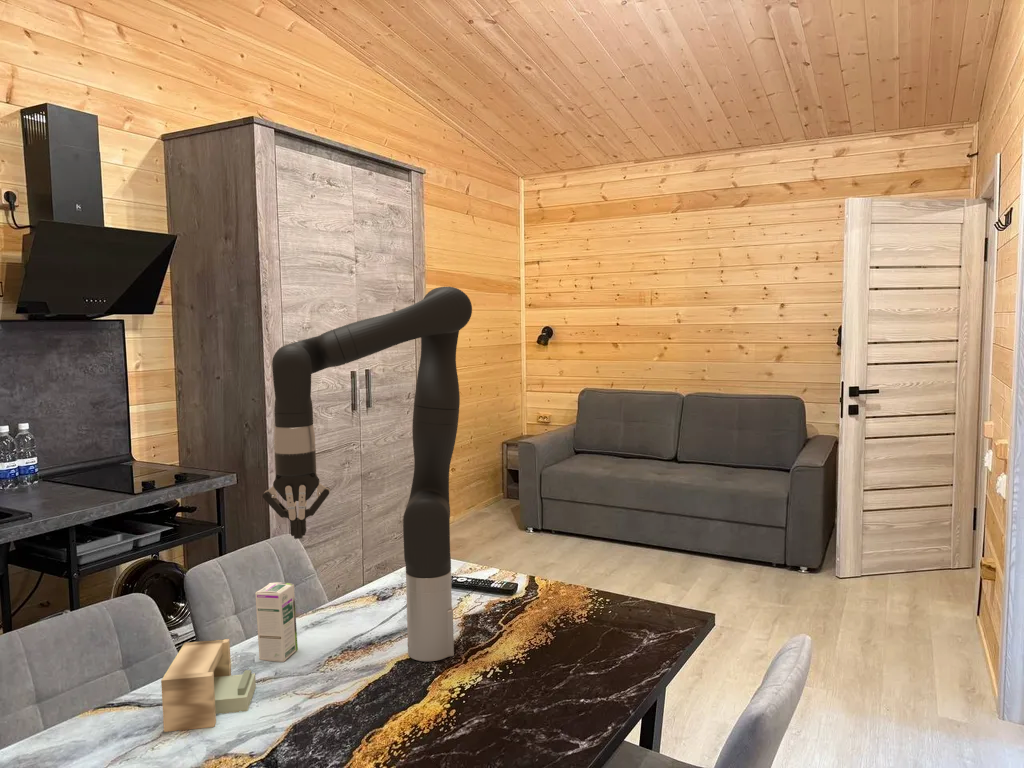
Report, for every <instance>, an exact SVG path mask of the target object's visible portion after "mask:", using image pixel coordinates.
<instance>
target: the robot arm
mask: <svg viewBox="0 0 1024 768" xmlns="http://www.w3.org/2000/svg"><path fill="white" fill-rule="evenodd" d="M472 314H473V305H472V301H471V300H470V298H469V296H468V295H467V294H466V293H465V291H462V290H461V289H459V288H456V287H454V286H441V287H440V286H439V287H435V288H433V289H431V290H430V291H428V293H426V294H425V295H424V297H423V299H421V300H419V301H417V302H415V303H414V304H411V305H408V306H406V307H403V308H402V309H397V310H395V311H393V312H392V311H391V312H389V313H386V314H382V315H378V316H374V317H369V318H366V319H361V320H359V321H354V322H352V323H347V324H346V325H342V326H339V327H336V328H333V329H331V330H328V331H326V332H323V333H322V334H319V335H316V336H312V337H309V338H306V339H301V340H298V341H294V342H292V343H288V344H285V345H282V346H281V347H279V348H278V349H277V350H276V352H275V353H274V355H273V357H272V361H271V366H272V367H271V368H272V369H271V370H272V381H273V390H274V410H273V411H274V414H273V415H274V436H273V438H274V439H273V441H274V443H273V444H274V445H273V450H274V470H275V478H274V481H273V482H272V486H271V487H270V488H269V489H266V490H265V491H264V492H263V494H262V498H263V499H264V500H265V501H266V503H267V504H268V505H269V506H270V507H271V508H272V509H273V511H275V513H276V514H277V515H278V516H279V517H280V518H286V519H288V520H289V527H290V529H289V530H290V535H291V537H293V538H294V540H297V539H299V540H300V539H303V538H304V536H305V535H306V533H307V518H310V517H312V516H314V515H315V514H316V513H317V511H318V509H319V508H320V507H321V506H322V505H323V503H324V502H325V500H326V499H327V498H328V496H329V495H330V493H331V488H330V487H328V486H324V485H323V484H322V483H320V478H319V477H318V474H317V456H316V455H317V452H316V434H315V429H314V410H313V408H314V407H313V401H312V396H311V395H312V394H311V393H312V374H315V373H318V372H321V371H323V370H325V369H328V368H329V369H330V368H335V367H339V366H343V365H345V364H349V363H351V362H355V361H358V360H362V359H363V358H366V357H369V356H371V355H373V354H374V355H375V354H376V353H379V352H382V351H384V350H387V349H390V348H392V347H395V346H397V345H400V344H403V343H406V342H410V341H413V340H416V339H420V359H419V365H418V366H419V367H418V371H417V378H416V384H415V391H414V393H415V394H414V400H413V410H412V411H413V412H412V427H411V428H412V448H413V459H414V462H413V463H414V465H413V466H414V469H413V475H412V476H413V477H412V483H411V489H410V493H409V498H408V501H407V504H406V508H405V510H404V513H403V518H402V532H403V554H404V555H403V558H404V563H405V583H406V584H405V585H406V587H405V590H406V621H407V622H406V623H407V624H406V626H407V629H406V630H407V654H408V657H409V658H411V659H412V660H416V661H419V662H434V661H440V660H444V659H446V658H448V657H454V656H455V649H454V648H455V645H454V641H455V640H454V638H455V637H454V610H453V606H452V605H453V604H452V602H453V601H452V596H453V595H452V567H451V566H452V557H451V537H450V536H451V529H450V525H451V524H450V520H451V519H450V518H451V507H450V505H451V504H450V467H451V462H452V459H453V458H452V457H453V454H454V450H455V445H456V439H457V435H458V434H457V433H458V427H459V414H460V404H461V403H460V385H459V377H458V370H457V369H458V368H457V348H458V342H459V341H458V340H459V334H460V331H461V330H462V329H463V328H464V327H466V326H467V325H468V323H469V321H470V320H471V317H472ZM316 490H317V492H316V496H317V497H316V499H315V500H314V501H313V503H312V504H311V505H310V507H309V508H307V503H308V501H309V499H310V498H311V497H312V495H313V494H314V493H315V491H316ZM277 493H278V494H277ZM278 495H280V497H281V498H282V500H284V501H285V502H286V504H287V508H286V507H285V506H284V505H283V503H282V502H281V501H280V500H279V499H278V498H277V497H278ZM297 502H298V505H297ZM297 506H298V510H297ZM297 511H298V512H297Z"/></svg>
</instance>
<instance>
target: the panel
mask: <svg viewBox="0 0 1024 768" xmlns="http://www.w3.org/2000/svg"><path fill="white" fill-rule="evenodd" d="M256 683H257V679H256V673H255V672H254V673H252V669H247V670H246V669H245V670H244V671H243V673H242V674H231V676H221V677H214V691H215V711H216V715H220V714H219V713H222V714H230V713H229V712H232V713H240V712H239V711H242V712H248V710H249V708H250V704H251V701H252V699H253V697H254V694H255V690H256V688H257V684H256Z"/></svg>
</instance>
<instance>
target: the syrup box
mask: <svg viewBox="0 0 1024 768" xmlns="http://www.w3.org/2000/svg"><path fill="white" fill-rule="evenodd" d="M254 594H255V608H256V610H255V611H256V624H257V625H256V627H257V643H258V657H259V660H261V661H269V662H279V663H284V662H286V660H287V659H288V658H290V657H291V656H292V655H294V653H295V652H297V651H298V649H299V648H298V632H297V614H296V613H297V612H296V596H295V595H296V594H295V584H294V583H290V582H280V581H279V582H269V583H268V584H267V585H265V586H264V587H262V588H261V589H259V590H257V591H256V592H255V593H254Z"/></svg>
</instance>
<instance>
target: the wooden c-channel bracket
mask: <svg viewBox="0 0 1024 768" xmlns="http://www.w3.org/2000/svg"><path fill="white" fill-rule="evenodd" d="M230 643H231V641H230V638H226V639H214V640H213V639H212V640H200V641H191V642H190V641H187V642H184V643H183V645H182V646H181V648H180V650H179V651H178V653H177V655H175V658H174V659H173V661H172V662H171V664H170V665H169V667H168V669H167V671H166V672H165V674H164V675H163V677H162V679H161V680H160V682H161V683H160V684H161V699H162V700H161V701H162V702H161V703H162V719H163V733H167V732H168V733H169V732H177V730H179V731H188V729H189V730H198V729H207V728H215V726H216V724H217V716H216V715H217V714H216V711H215V691H214V677H221V676H231V675H232V662H231V645H230Z"/></svg>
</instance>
